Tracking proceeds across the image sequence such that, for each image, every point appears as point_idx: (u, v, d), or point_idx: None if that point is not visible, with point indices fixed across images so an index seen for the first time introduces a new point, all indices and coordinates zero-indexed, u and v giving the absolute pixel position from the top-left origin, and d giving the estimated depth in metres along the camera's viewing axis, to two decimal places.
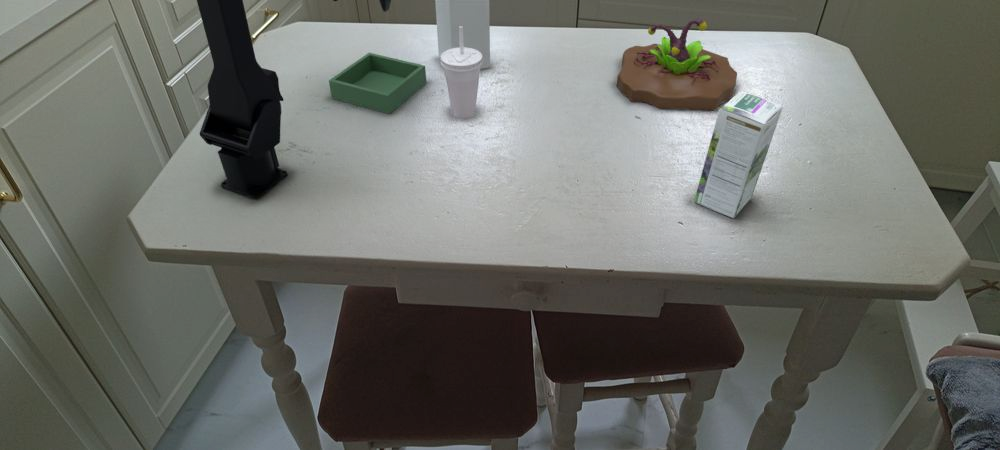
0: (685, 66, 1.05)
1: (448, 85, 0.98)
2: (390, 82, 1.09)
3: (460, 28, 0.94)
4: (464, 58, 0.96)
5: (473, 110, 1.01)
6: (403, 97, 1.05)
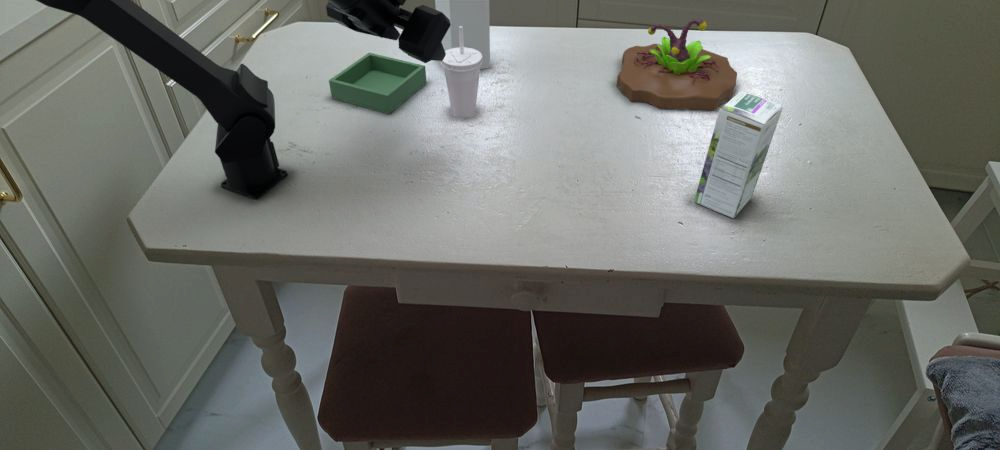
0: (685, 66, 1.05)
1: (448, 85, 0.98)
2: (390, 82, 1.09)
3: (460, 28, 0.94)
4: (464, 58, 0.96)
5: (473, 110, 1.01)
6: (403, 97, 1.05)
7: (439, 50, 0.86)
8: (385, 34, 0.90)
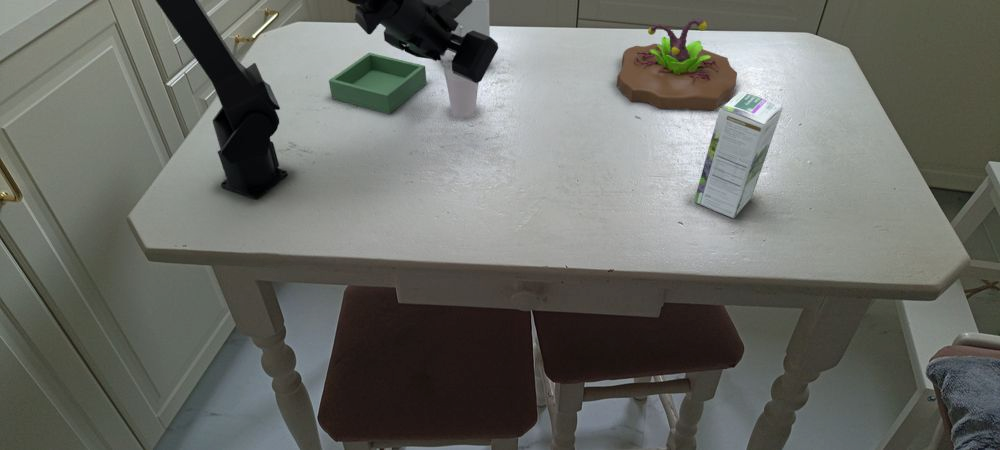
0: (685, 66, 1.05)
1: (448, 85, 0.98)
2: (390, 82, 1.09)
3: (460, 28, 0.94)
4: None
5: (473, 109, 1.01)
6: (403, 97, 1.05)
7: None
8: None
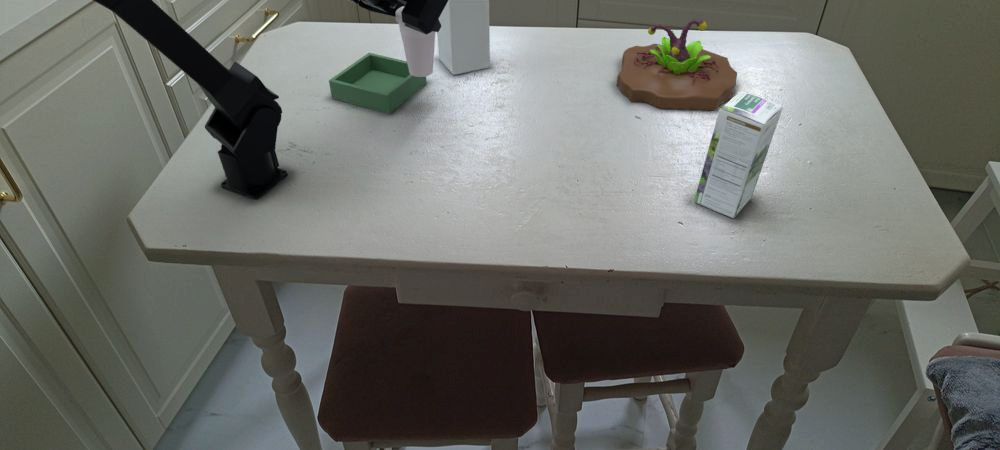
0: (685, 66, 1.05)
1: (403, 42, 0.97)
2: (390, 82, 1.09)
3: None
4: None
5: (429, 68, 1.00)
6: (403, 97, 1.05)
7: None
8: None
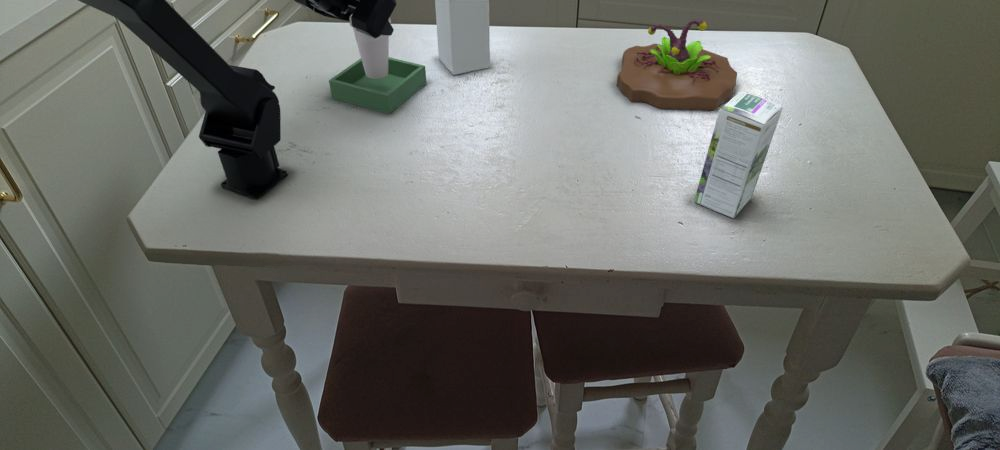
0: (685, 66, 1.05)
1: (358, 45, 1.01)
2: (390, 82, 1.09)
3: None
4: None
5: (384, 70, 1.04)
6: (403, 97, 1.05)
7: (386, 26, 0.97)
8: None
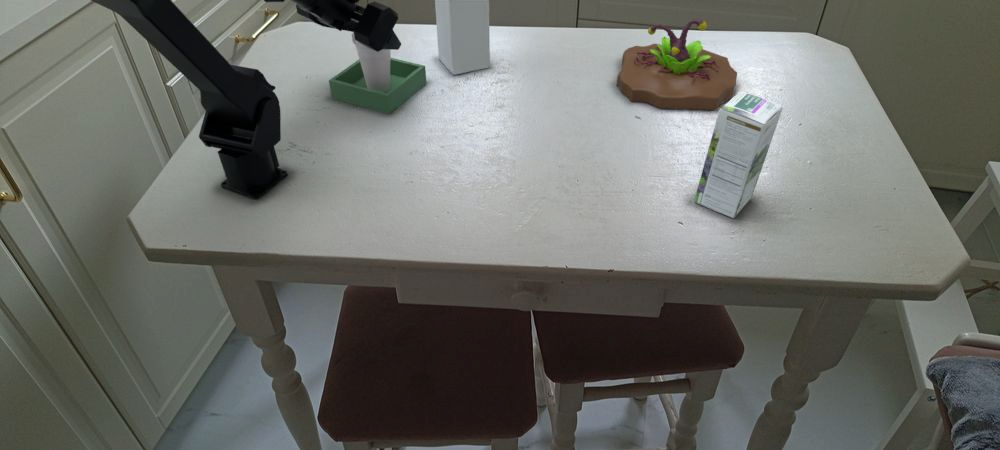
0: (685, 66, 1.05)
1: (360, 61, 1.03)
2: (390, 82, 1.09)
3: None
4: None
5: (386, 85, 1.06)
6: (403, 97, 1.05)
7: (394, 40, 0.98)
8: (350, 28, 1.03)
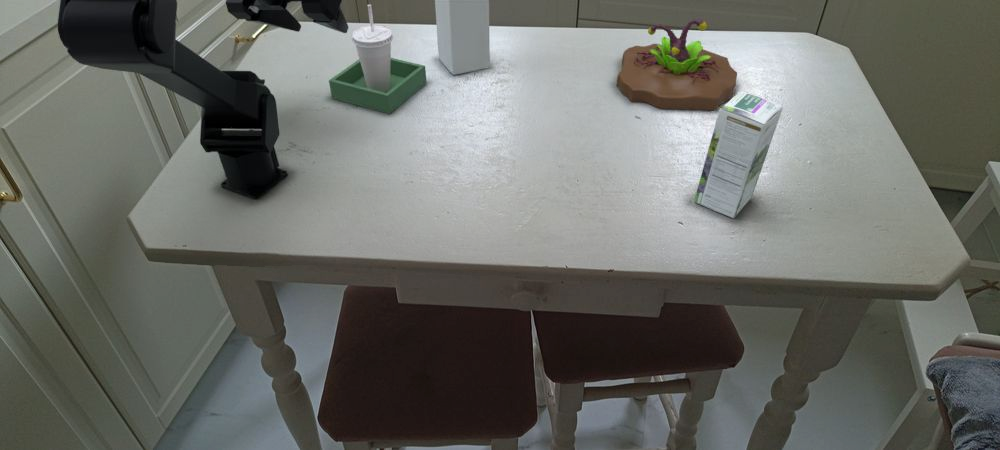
0: (685, 66, 1.05)
1: (360, 61, 1.03)
2: (390, 82, 1.09)
3: (368, 6, 0.99)
4: (373, 35, 1.01)
5: (386, 86, 1.06)
6: (403, 97, 1.05)
7: (341, 20, 0.91)
8: (287, 24, 0.95)
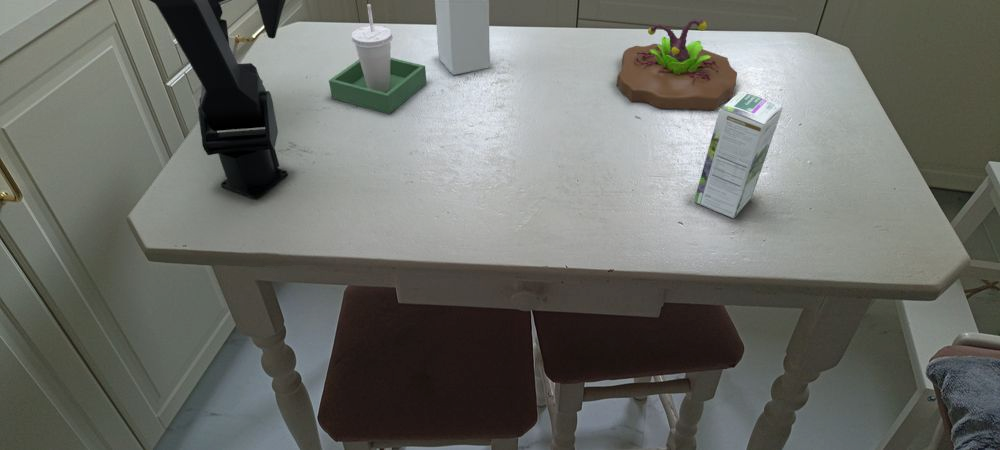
0: (685, 66, 1.05)
1: (360, 61, 1.03)
2: (390, 82, 1.09)
3: (368, 6, 0.99)
4: (373, 35, 1.01)
5: (386, 85, 1.06)
6: (403, 97, 1.05)
7: None
8: None
